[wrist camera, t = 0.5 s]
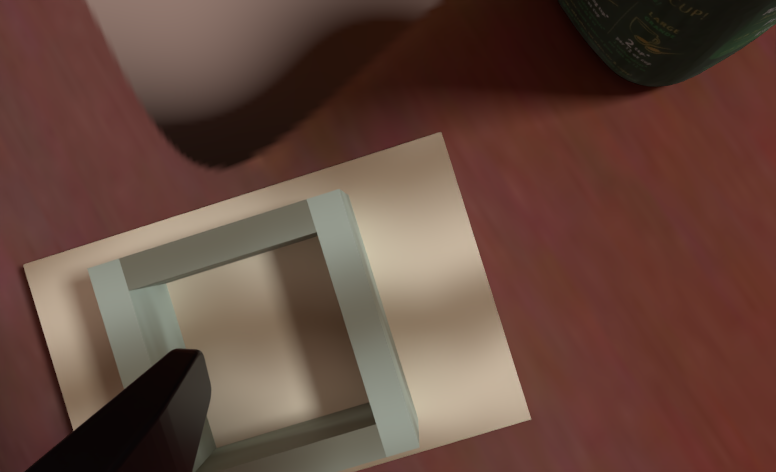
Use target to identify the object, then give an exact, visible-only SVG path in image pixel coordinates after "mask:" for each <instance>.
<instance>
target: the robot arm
mask: <svg viewBox="0 0 776 472" xmlns="http://www.w3.org/2000/svg"><path fill="white" fill-rule="evenodd" d="M210 400H211V382H210V378H209V374H208V370H207V366H206V362H205V358H204V355H203V353H202V352H201V351H200V350H198V349H183V348H176V349H173V350H171V351H170V352H168V353H167V354H166V355H165V356H164V357H162V358H161V359H160V360H159V361H158V362H156V363H155V364H154V365H153V366H152V367H150V368H149V369H148V370H147V371H145V372H144V373H143V374H142V375H141V376H139V377H138V378H137V379H136V380H135V381H133V382H132V383H131V384H130V385H129V386H127V387H126V388H125V389H124V390H122V391H121V392H120V393H119V394H118V395H116V396H115V397H114V398H113V399H112V400H110V401H109V402H108V403H107V404H105V405H104V406H103V407H102V408H101V409H99V410H98V411H97V412H96V413H95V414H93V415H92V416H91V417H90V418H89V419H87V420H86V421H85V422H84V423H82V424H81V425H80V426H79V427H78V428H76V429H75V430H74V431H73V432H72V433H70V434H69V435H68V436H67V437H66V438H64V439H63V440H62V441H61V442H59V443H58V444H57V445H56V446H55V447H53V448H52V449H51V450H50V451H49V452H47V453H46V454H45V455H44V456H43V457H41V458H40V459H39V460H38V461H36V462H35V463H34V464H33V465H32V466H30V467H29V468H28V469H27V470H26V471H24V472H192V471H193V467H194V463H195V459H196V455H197V451H198V447H199V444H200V440H201V436H202V432H203V428H204V424H205V420H206V416H207V412H208V408H209V404H210Z"/></svg>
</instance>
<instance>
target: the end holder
mask: <svg viewBox="0 0 776 472" xmlns="http://www.w3.org/2000/svg"><path fill="white" fill-rule="evenodd" d="M23 267H24V270H25V273H26V276H27V280H28V283H29V286H30V290H31V293H32V296H33V299H34V303H35V306H36V309H37V313H38V316H39V319H40V322H41V326H42V329H43V332H44V336H45V339H46V342H47V345H48V349H49V352H50V355H51V359H52V362H53V365H54V368H55V372H56V375H57V378H58V382H59V385H60V388H61V391H62V395H63V398H64V401H65V405H66V408H67V411H68V414H69V418H70V421H71V424H72V428H73V431H74V430H75V429H76V428H78V427H79V426H80V425H81V424H82V423H84V422H85V421H86V420H87V419H89V418H90V417H91V416H92V415H93V414H95V413H96V412H97V411H98V410H99V409H101V408H102V407H103V406H104V405H105V404H107V403H108V402H109V401H110V400H112V399H113V398H114V397H115V396H116V395H118V394H119V393H120V392H121V391H122V390H124V389H125V388H126V387H127V386H129V385H130V384H131V383H132V382H133V381H135V380H136V379H137V378H138V377H139V376H141V375H142V374H143V373H144V372H145V371H147V370H148V369H149V368H150V367H152V366H153V365H154V364H155V363H156V362H158V361H159V360H160V359H161V358H162V357H164V356H165V355H166V354H167V353H168V352H170V351H171V350H173V349H176V348H183V349H198V350H200V351H201V352H202V353H203V355H204V358H205V362H206V366H207V370H208V374H209V378H210V382H211V400H210V404H209V408H208V412H207V416H206V420H205V424H204V428H203V432H202V436H201V440H200V444H199V447H198V451H197V455H196V459H195V463H194V467H193V471H192V472H355V471H358V470H361V469H365V468H368V467H371V466H375V465H378V464H382V463H385V462H388V461H392V460H395V459H398V458H402V457H405V456H409V455H412V454H415V453H419V452H422V451H426V450H429V449H432V448H436V447H439V446H442V445H446V444H449V443H453V442H456V441H459V440H463V439H466V438H469V437H473V436H476V435H480V434H483V433H486V432H490V431H493V430H496V429H500V428H503V427H507V426H510V425H513V424H517V423H520V422H523V421H527V420H530V419H531V417H530V414H529V411H528V407H527V404H526V401H525V398H524V395H523V391H522V388H521V385H520V382H519V379H518V376H517V372H516V369H515V366H514V363H513V360H512V356H511V353H510V350H509V347H508V344H507V340H506V337H505V334H504V331H503V328H502V324H501V321H500V318H499V315H498V312H497V308H496V305H495V302H494V299H493V296H492V292H491V289H490V286H489V283H488V280H487V277H486V273H485V270H484V267H483V264H482V261H481V257H480V254H479V251H478V248H477V245H476V241H475V238H474V235H473V232H472V229H471V225H470V222H469V219H468V216H467V213H466V209H465V206H464V203H463V200H462V197H461V193H460V190H459V187H458V184H457V181H456V178H455V174H454V171H453V168H452V165H451V162H450V158H449V155H448V152H447V149H446V146H445V142H444V139H443V136H442V133H441V132H439V133H436V134H433V135H430V136H427V137H423V138H420V139H417V140H414V141H411V142H408V143H405V144H401V145H398V146H395V147H392V148H389V149H386V150H383V151H379V152H376V153H373V154H370V155H367V156H364V157H361V158H357V159H354V160H351V161H348V162H345V163H342V164H339V165H335V166H332V167H329V168H326V169H323V170H320V171H317V172H313V173H310V174H307V175H304V176H301V177H298V178H295V179H291V180H288V181H285V182H282V183H279V184H276V185H273V186H269V187H266V188H263V189H260V190H257V191H254V192H251V193H247V194H244V195H241V196H238V197H235V198H232V199H229V200H225V201H222V202H219V203H216V204H213V205H210V206H206V207H203V208H200V209H197V210H194V211H191V212H188V213H184V214H181V215H178V216H175V217H172V218H169V219H166V220H162V221H159V222H156V223H153V224H150V225H147V226H144V227H140V228H137V229H134V230H131V231H128V232H125V233H122V234H118V235H115V236H112V237H109V238H106V239H103V240H100V241H96V242H93V243H90V244H87V245H84V246H81V247H78V248H74V249H71V250H68V251H65V252H62V253H59V254H56V255H52V256H49V257H46V258H43V259H40V260H37V261H34V262H30V263H27V264H24V265H23Z"/></svg>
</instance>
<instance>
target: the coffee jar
mask: <svg viewBox="0 0 776 472" xmlns="http://www.w3.org/2000/svg"><path fill="white" fill-rule="evenodd" d="M558 2H559V4H560V5H561V7H562V9H563V10H564V11H565V13H566V14H567V16H568V17H569V19H570V20H571V22H572V23H573V25H574V26H575V28H576V29H577V30H578V32H579V33H580V34H581V36H582V37H583V38H584V40H585V41H586V42H587V43H588V45H589V46H590V47H591V48H592V49H593V50H594V51H595V53H596V54H597V55H598V56H599V57H600V58H601V59H602V60H603V61H604V63H605V64H606V65H607V66H608V67H609V68H610V69H611V70H613V71H614V72H615V73H616V74H618V75H619V76H621V77H622V78H624V79H626V80H628V81H630V82H633V83H636V84H640V85H644V86H657V87H658V86H668V85H673V84H676V83H680V82H682V81H685V80H687V79H689V78H692V77H694V76H696V75H698V74H700V73H701V72H703V71H705V70H707V69H708V68H710V67H712V66H714V65H715V64H717V63H719V62H720V61H722V60H724V59H726V58H727V57H729V56H730V55H732V54H734V53H735V52H737V51H739V50H740V49H742V48H743V47H745V46H746V45H747V44H749V43H750V42H752V41H753V40H755V39H756V38H758V37H759V36H760V35H761V34H763V33H764V32H765V31H767V30H768V29H769V28H771V27H772V26H773V25H775V24H776V0H558Z"/></svg>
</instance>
